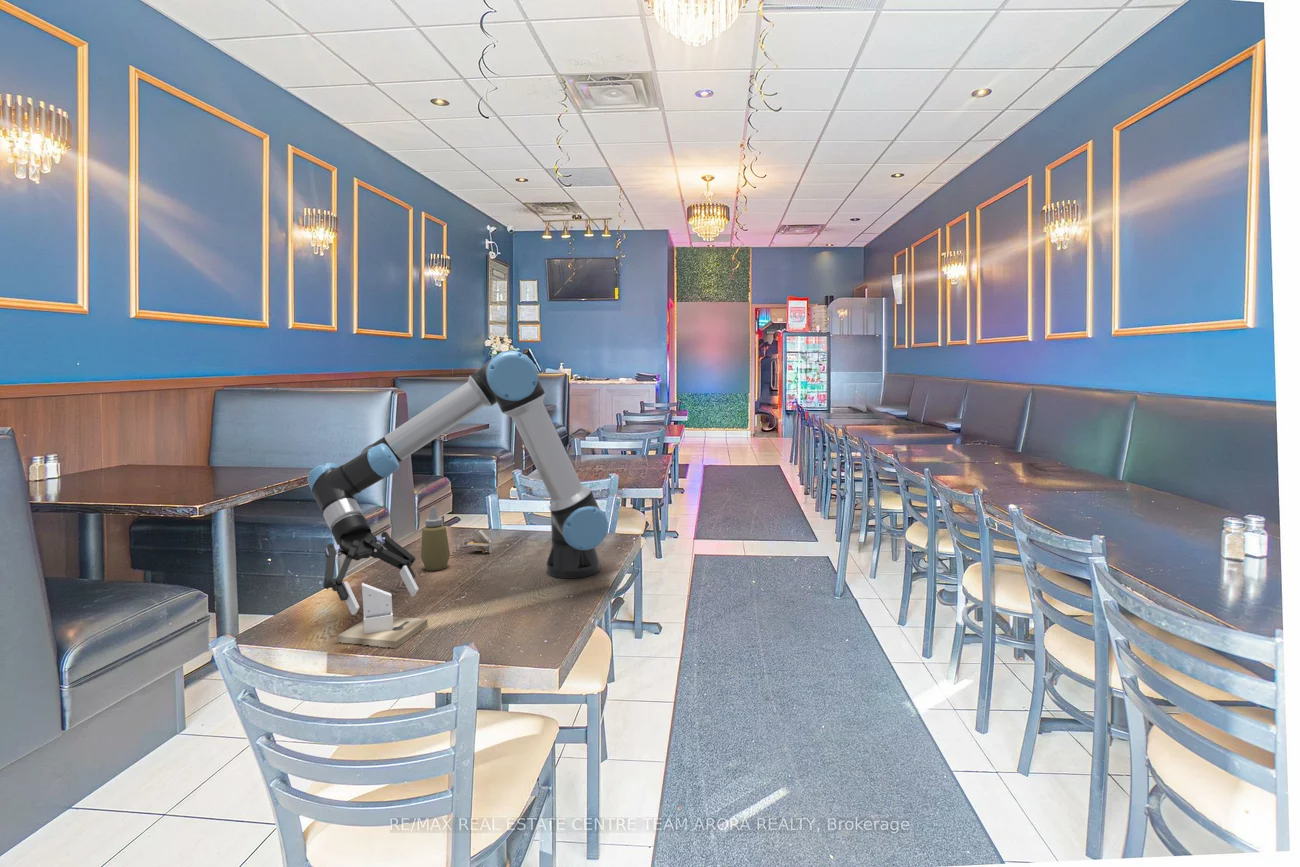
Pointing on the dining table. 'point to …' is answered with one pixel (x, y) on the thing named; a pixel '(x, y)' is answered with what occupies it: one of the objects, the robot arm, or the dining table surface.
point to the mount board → (384, 633)
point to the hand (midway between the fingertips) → (386, 601)
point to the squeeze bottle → (434, 543)
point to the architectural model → (482, 541)
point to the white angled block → (376, 609)
